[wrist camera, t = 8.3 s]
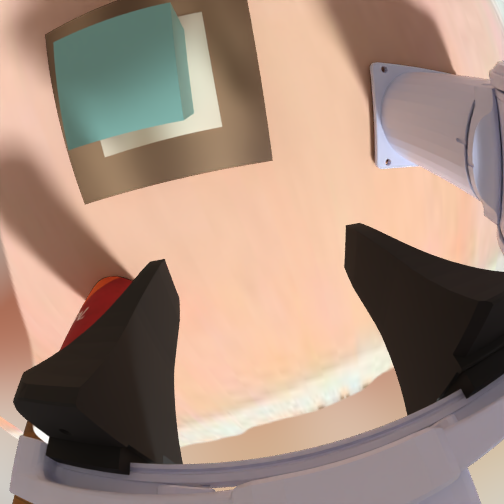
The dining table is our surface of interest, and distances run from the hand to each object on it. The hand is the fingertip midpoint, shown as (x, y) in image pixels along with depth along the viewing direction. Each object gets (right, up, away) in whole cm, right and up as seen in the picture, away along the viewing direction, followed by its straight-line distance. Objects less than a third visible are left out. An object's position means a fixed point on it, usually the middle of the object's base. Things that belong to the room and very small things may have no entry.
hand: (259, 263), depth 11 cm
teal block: (-6, +10, +1) cm, 11 cm away
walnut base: (-6, +11, +4) cm, 13 cm away
